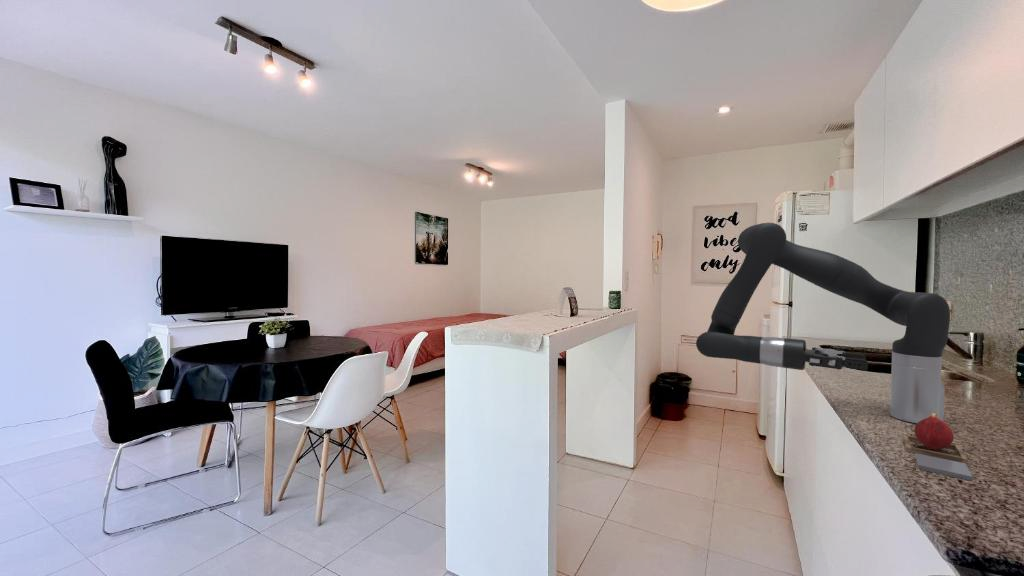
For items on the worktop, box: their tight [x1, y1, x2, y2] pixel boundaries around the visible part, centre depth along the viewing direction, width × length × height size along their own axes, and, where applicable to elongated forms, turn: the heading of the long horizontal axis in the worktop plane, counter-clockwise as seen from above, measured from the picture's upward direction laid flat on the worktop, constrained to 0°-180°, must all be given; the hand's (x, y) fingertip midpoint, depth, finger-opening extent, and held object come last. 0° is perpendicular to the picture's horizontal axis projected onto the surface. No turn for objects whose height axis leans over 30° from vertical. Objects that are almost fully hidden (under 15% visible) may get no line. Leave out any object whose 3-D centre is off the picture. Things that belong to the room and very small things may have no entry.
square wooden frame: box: [902, 434, 969, 465], centre depth 87 cm, size 9×9×1 cm
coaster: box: [914, 453, 974, 482], centre depth 79 cm, size 7×7×1 cm
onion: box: [913, 413, 954, 452], centre depth 87 cm, size 6×6×8 cm
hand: (866, 362), depth 93 cm, fingers open, 8 cm apart
